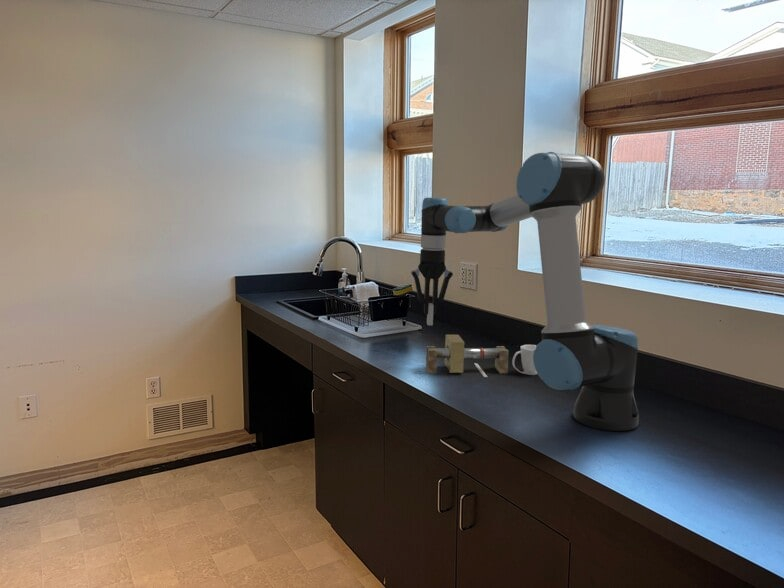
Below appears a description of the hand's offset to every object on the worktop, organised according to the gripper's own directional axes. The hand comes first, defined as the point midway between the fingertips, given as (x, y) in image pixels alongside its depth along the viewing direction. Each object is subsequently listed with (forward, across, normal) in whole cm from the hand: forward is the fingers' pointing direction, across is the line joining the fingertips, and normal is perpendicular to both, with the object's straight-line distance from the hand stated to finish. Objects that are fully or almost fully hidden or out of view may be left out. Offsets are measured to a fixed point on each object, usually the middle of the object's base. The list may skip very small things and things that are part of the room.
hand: (429, 324), depth 187 cm
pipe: (+10, -11, +5) cm, 16 cm away
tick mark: (+13, -16, +5) cm, 21 cm away
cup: (+14, -29, +8) cm, 33 cm away
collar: (+13, -7, +5) cm, 16 cm away
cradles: (+13, -11, +5) cm, 18 cm away
